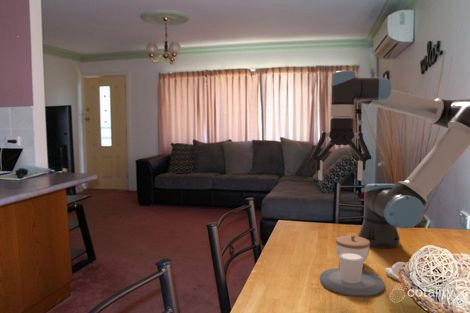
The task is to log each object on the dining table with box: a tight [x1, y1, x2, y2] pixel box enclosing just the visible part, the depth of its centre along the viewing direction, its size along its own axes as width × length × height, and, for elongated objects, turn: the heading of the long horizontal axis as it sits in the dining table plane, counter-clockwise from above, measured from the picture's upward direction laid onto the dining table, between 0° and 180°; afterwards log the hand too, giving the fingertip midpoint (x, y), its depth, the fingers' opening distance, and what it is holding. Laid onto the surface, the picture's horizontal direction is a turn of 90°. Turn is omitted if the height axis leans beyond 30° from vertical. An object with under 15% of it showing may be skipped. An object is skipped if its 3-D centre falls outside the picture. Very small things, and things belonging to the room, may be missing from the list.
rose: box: [384, 261, 406, 282], centre depth 120 cm, size 10×4×10 cm
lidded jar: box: [335, 234, 371, 263], centre depth 131 cm, size 11×11×9 cm
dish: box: [319, 267, 385, 298], centre depth 115 cm, size 18×18×1 cm
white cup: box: [338, 252, 364, 283], centre depth 115 cm, size 7×7×7 cm
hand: (339, 180), depth 136 cm, fingers open, 13 cm apart
